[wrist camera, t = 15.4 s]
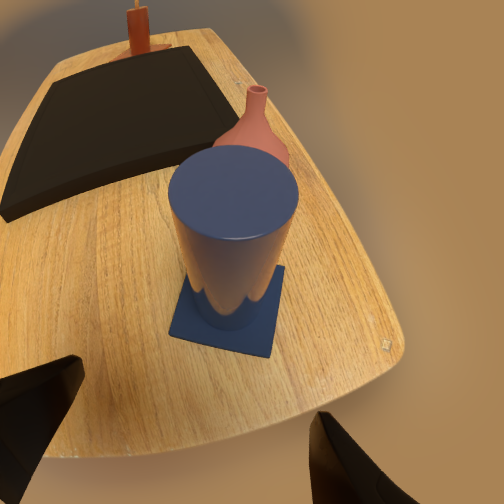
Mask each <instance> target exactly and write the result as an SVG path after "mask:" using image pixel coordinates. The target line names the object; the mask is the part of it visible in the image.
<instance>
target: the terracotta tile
mask: <svg viewBox="0 0 504 504" xmlns="http://www.w3.org/2000/svg"><path fill="white" fill-rule="evenodd" d="M150 46H151V50H150V51H149V52H153V51H158V50H164V49H167V48H169V47H170V46H172V44H158V45H150ZM146 53H148V52H146ZM143 54H144V53H143ZM131 56H135V55H131V51H130V49H128V50H127V51H125V52H124V53H122V54H120V55H119V56H117V57H116V58H114V59H113V60H111V61H110V62H112V61H116V60H120V59H123V58H127V57H131Z"/></svg>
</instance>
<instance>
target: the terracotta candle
mask: <svg viewBox="0 0 504 504" xmlns="http://www.w3.org/2000/svg"><path fill="white" fill-rule="evenodd" d="M127 23H128V34H129V43H130V51H131V55H139V54H143V53H146V52H149V51H150V50H151V46H150V34H149V19H148V6H143V7H139V0H135V8H133V9H130V10H127Z"/></svg>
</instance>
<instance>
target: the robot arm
mask: <svg viewBox="0 0 504 504" xmlns="http://www.w3.org/2000/svg"><path fill="white" fill-rule="evenodd" d="M84 377H85V371H84V366H83V362H82V359H81V358H80V357H78V356H76V355H73V354H72V355H69V356H66V357H63V358H60V359H57V360H54V361H52V362H49V363H46V364H43V365H40V366H37V367H34V368H31V369H28V370H25V371H22V372H19V373H16V374H13V375H10V376H7V377H5V378H1V379H0V499H1V500H2V501H3V502H4V503H5V504H19V503H20V501H21V499H22V497H23V494H24V492H25V490H26V488H27V486H28V484H29V482H30V480H31V477H32V475H33V473H34V472H35V469H36V468H37V466H38V464H39V462H40V460H41V458H42V456H43V454H44V453H45V451H46V449H47V447H48V445H49V443H50V442H51V440H52V438H53V436H54V434H55V433H56V431H57V429H58V428H59V426H60V424H61V422H62V421H63V419H64V417H65V416H66V414H67V412H68V411H69V409H70V407H71V405H72V403H73V401H74V399H75V397H76V395H77V392H78V390H79V388H80V386H81V384H82V382H83V380H84ZM309 437H310V438H309V469H310V479H311V489H312V499H313V504H419V503H418V502H417V501H415V500H414V499H413V498H411V497H410V496H409V495H408V494H406V493H405V492H404V491H403V490H401V489H400V488H399V487H398V486H397V485H396V484H394V482H393V481H392V480H390V479H389V477H388V476H386V474H385V473H384V472H383V471H381V469H380V468H379V467H378V466H377V465H376V464H375V463H374V462H373V461H372V459H371V458H370V457H369V456H368V455H367V454H366V453H365V452H364V451H363V450H362V449H361V447H360V446H359V445H358V444H357V443H356V442H355V441H354V440H353V439H352V437H351V436H350V435H349V434H348V433H347V432H346V431H345V430H344V428H343V427H342V426H341V425H340V424H339V423H338V422H337V420H336V419H335V418H334V417H333V416H332V415H331V413H329V412H327V411H318V412H317V413H316V415H315V417H314V419H313V421H312V423H311V425H310V435H309Z"/></svg>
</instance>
